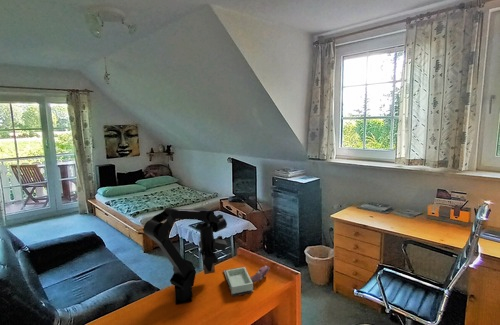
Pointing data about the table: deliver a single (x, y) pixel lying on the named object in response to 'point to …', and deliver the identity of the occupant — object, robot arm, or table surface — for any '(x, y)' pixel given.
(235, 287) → the pale green tray
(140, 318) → the table surface
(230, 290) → the track
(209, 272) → the walnut block
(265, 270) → the sweet potato
